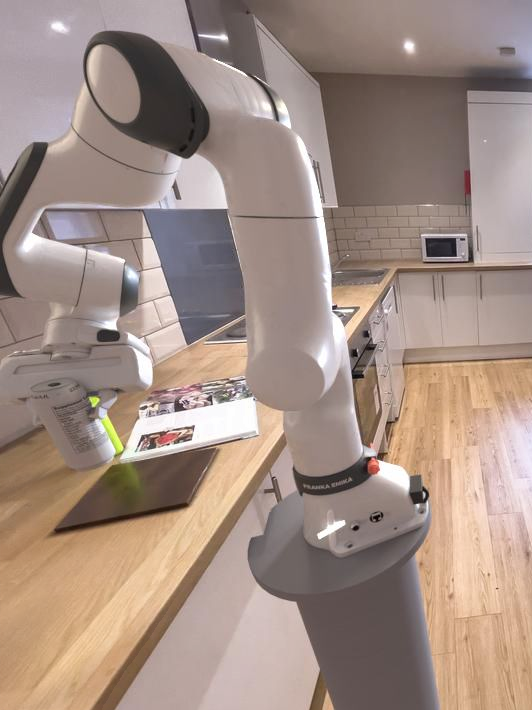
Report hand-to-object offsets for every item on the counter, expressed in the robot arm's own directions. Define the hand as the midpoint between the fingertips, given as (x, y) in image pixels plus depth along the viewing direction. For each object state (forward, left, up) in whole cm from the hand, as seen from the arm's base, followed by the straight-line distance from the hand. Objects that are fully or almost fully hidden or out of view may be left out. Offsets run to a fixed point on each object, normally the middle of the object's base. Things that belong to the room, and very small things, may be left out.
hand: (70, 422), depth 66 cm
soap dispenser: (+14, -28, -21) cm, 38 cm away
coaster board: (0, -10, -21) cm, 23 cm away
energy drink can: (0, -1, -9) cm, 9 cm away
